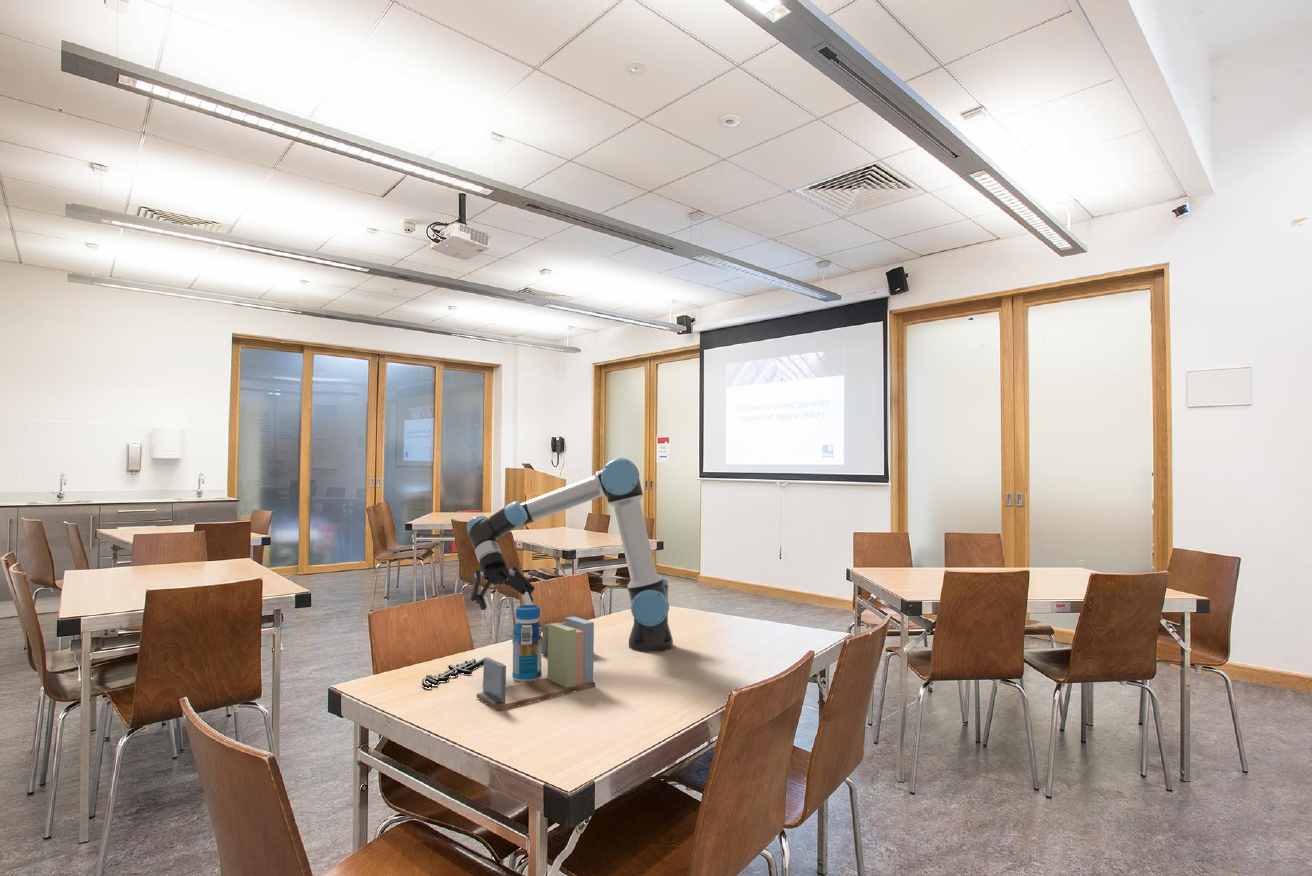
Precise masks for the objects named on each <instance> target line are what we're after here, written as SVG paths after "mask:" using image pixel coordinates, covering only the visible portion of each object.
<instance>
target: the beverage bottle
mask: <svg viewBox="0 0 1312 876" xmlns="http://www.w3.org/2000/svg"><path fill="white" fill-rule="evenodd" d="M540 616H541V607H540V606H539V605H535V604H533V605H525V604H524V605H519V606H517V607H516V609H515V618H516V619H515V620H517V622H516V623H515V625H514V627H513V630H512V633H513V637H512V643H511V644H512V676H511V677H512V679H513V680H514V681H517V682H521V681H529V682H530V681H535V680H539V679H541V677H542V660H543V659H542V656H543V654H542V634H543V627H542V626H541V623H540V621H539V619H540Z"/></svg>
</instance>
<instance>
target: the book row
mask: <svg viewBox="0 0 1312 876" xmlns="http://www.w3.org/2000/svg"><path fill="white" fill-rule="evenodd" d="M559 623H560V622H553V623H547V624H548V655H547V678H548V679H549V680H551V681H553V682H555V683H558V684H560V685H562V686H564V687H566V688H568V687H572V686H576V685H580V684H585V683H589V682H594V662H595V661H594V658H595V657H594V655H595V654H594V653H595V652H594V651H595V650H594V646H595V645H594V643H595V642H594V641H595V639H594V638H595V631H594V630H595V623H594V621H591V620H588V619H584V618H580V617H577V616H567V617H565V618H564V623H565V625H562V624H559Z"/></svg>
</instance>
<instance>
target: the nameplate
mask: <svg viewBox="0 0 1312 876" xmlns="http://www.w3.org/2000/svg"><path fill="white" fill-rule="evenodd" d="M483 664H484V658H482V659H480V660H478V661H476V658H472V660H465V661H464V663H457V664H456V665H452V664H449V665H448V664H447V665H448V668H449V669H450V670H447V671H444V673H438V674H437V675H432V674H426V675H425V678H423V679H422V680H421V681H422V682H421V686H422V685H423V686H424V687H427V688H429V687H432V688H433V686H432V684H434V685H437V684H438V682H439V681H447V680H449V681H450V678H449V676H450V675H451V676H456V675H458V674H459V673H464V674H472V673H473V672H472V671H474V670H475V669H474V668H476V667H478V668H480V667H481V666H480V665H482V666H484V665H483ZM479 666H480V667H479ZM448 668H447V669H448ZM473 669H474V670H473ZM476 669H477V668H476ZM471 670H472V671H471ZM458 672H459V673H458ZM426 681H428V682H429V683H431V684H428V683H427V682H426ZM439 683H440V682H439ZM438 685H439V684H438Z"/></svg>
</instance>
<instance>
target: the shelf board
mask: <svg viewBox="0 0 1312 876" xmlns="http://www.w3.org/2000/svg"><path fill="white" fill-rule="evenodd" d="M595 687H596V682H595V681H593V682H589V683H585V684H580V685H576V686H572V687H568V688H566V687H564V686H562V685H560V684H558V683H555V682H553V681H551V680H549V679H548V677H544V678H539V679H537V680H534V681H529V682H523V683H517V684H514V685H510V686H506V697H505V703H502V704H500V703H499V704H494V703H492V702H490V701H488V700H487V699H485V698H483V697H482V696H480V695H479V693H482V692H483V691H482V692H477V693H476V697H477V698H479V699H480V700H482V701H483V702H485V703H487V704H488V705H490V706H491V707H490V706H489V707H490V708H492V707H493V708H492V709H494V708H495V709H496V710H495V709H494V710H495V711H497V710H500V711H504V710H507V709H506V708H508V709H511V707H512V708H516V707H519V706H518V705H520V706H524V705H528V704H530V703H529V702H532V703H536V702H539V701H538V700H540V701H544V700H548V699H551V698H550V697H552V698H556V697H560V696H559V695H561V696H563V695H562V694H565V695H568V693H569V694H572V693H571V692H573V693H575V692H574V691H577V692H580V691H584V690H588V689H589V690H590V689H592V688H595ZM477 698H476V699H477ZM547 698H548V699H547ZM480 700H479V701H480ZM482 701H481V702H482ZM535 701H536V702H535ZM483 702H482V703H483ZM485 703H484V704H485ZM527 703H528V704H527ZM487 704H486V705H487ZM515 706H516V707H515ZM503 709H504V710H503Z"/></svg>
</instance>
